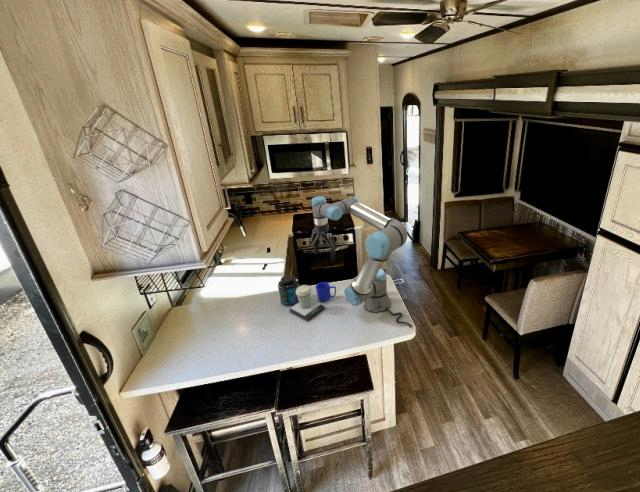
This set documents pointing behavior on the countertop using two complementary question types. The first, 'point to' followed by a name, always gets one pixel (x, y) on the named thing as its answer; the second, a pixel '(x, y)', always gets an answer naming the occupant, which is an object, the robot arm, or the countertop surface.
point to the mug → (324, 291)
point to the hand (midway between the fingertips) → (325, 256)
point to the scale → (307, 310)
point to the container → (288, 290)
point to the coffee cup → (304, 296)
